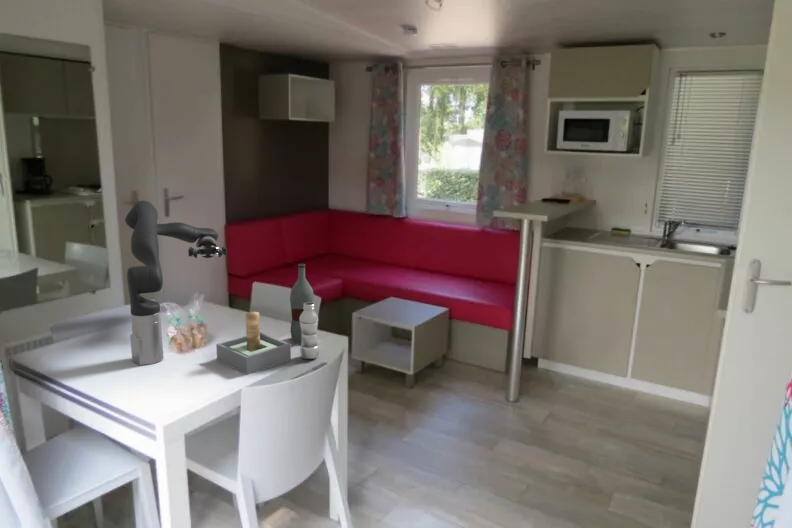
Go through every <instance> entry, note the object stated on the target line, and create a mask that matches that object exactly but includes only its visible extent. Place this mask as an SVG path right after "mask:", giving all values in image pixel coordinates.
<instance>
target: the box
mask: <svg viewBox="0 0 792 528" xmlns="http://www.w3.org/2000/svg"><path fill="white" fill-rule="evenodd" d="M260 340H263V341H265V342H268V343H270V344H273V345H275V346H278V347H275V348H272V349H269V350H266V351H262V352H259V353H256V354H253V355H249V356H246V355H244V354H241V353H239V352H237V351H235V350H233V349H230V348H229V347H230V346H234V345H237V344H241V343H244V342H247V335H245V336H241V337H237V338H233V339H230V340H226V341H223V342H219V343H216V344H215V345H216V361H218V362H219V363H222V364H224V365H226V366H228V367H230V368H232V369H234V370H237V371H238V372H240V373H242V374H244V373H245V375H246V374H247V375H246V376H249V375H250V374H253V373H257V372H260V371H263V370H266V369H268V368H271V367H274V366H278V365H281V364H283V363H286V362H289V361H291V360H292V358H291V357H292V355H291V353H292V349H291V347H292V346H291V343H290V342H286V341H284V340H281V339H279V338H277V337H273V336H271V335H268V334H266V333H264V332H261V331H260Z"/></svg>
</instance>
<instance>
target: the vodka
mask: <svg viewBox="0 0 792 528" xmlns="http://www.w3.org/2000/svg"><path fill="white" fill-rule="evenodd" d="M297 267H298V270H297V271H298V273H297V274H298V275H297V276H298V278H297V280H296V281H295V283H294V284H293V286H292V288H291V290H290V294H289V295H290V297H289V302H290V311H291V312H290V313H291V322H290V336H291V337H290V338H291V341H292V342H293V343H294V344H300V345H301V338H302V335H301V334H302V333H301V326H300V319H299V318H300V315H301V314H302V312H303V311H304V309H303V307H304V303H308V302H310V303H314V304H315V296H314V295H315V294H314V289H313V288H312V286H311V285H310V283H309V281H308V280H307V278H306V264H305V263H299V264H298V265H297Z"/></svg>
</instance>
